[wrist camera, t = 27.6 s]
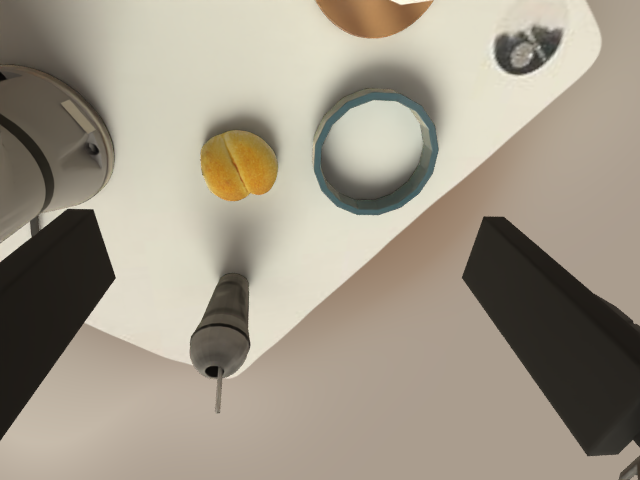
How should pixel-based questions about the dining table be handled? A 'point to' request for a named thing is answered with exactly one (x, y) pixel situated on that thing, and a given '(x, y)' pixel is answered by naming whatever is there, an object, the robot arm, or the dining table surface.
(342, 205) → the ring
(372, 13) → the wooden coaster
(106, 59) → the dining table surface
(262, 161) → the bread roll
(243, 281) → the beverage cup
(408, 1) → the foam cup
